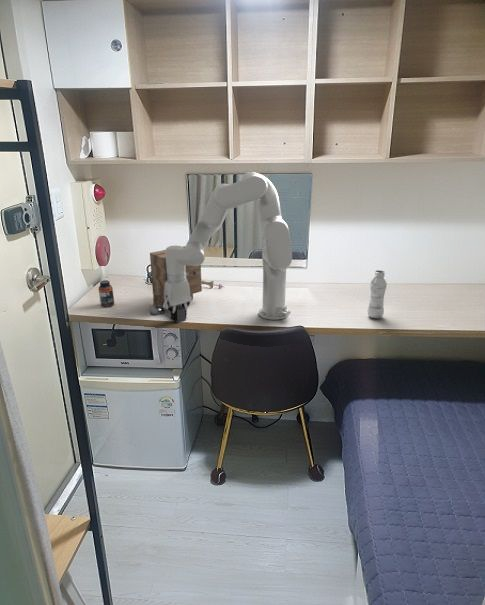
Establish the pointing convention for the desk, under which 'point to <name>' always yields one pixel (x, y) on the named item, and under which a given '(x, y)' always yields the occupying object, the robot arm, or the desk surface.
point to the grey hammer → (179, 312)
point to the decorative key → (211, 284)
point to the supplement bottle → (106, 294)
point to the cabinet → (161, 276)
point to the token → (155, 310)
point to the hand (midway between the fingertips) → (179, 318)
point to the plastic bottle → (377, 295)
